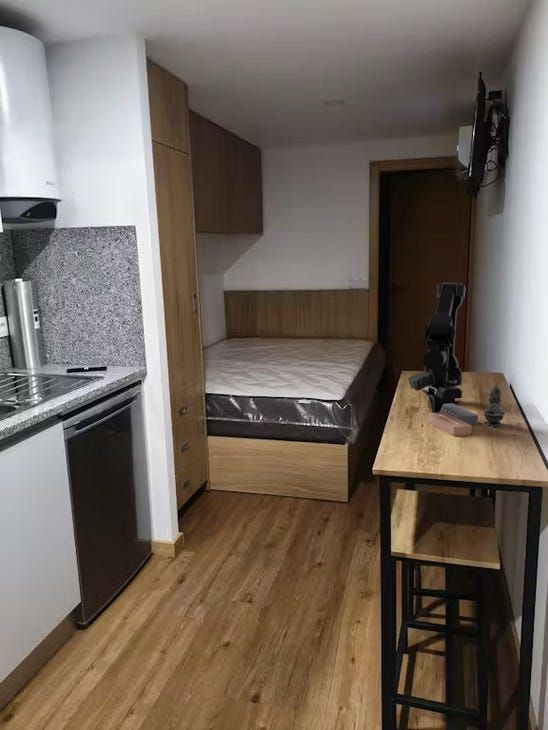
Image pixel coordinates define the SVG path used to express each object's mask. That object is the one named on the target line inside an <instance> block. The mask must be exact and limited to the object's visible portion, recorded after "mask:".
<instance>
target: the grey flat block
mask: <svg viewBox="0 0 548 730" xmlns="http://www.w3.org/2000/svg"><path fill="white" fill-rule="evenodd" d="M440 412H446V413H448V414H450V415H452V416H454V417H456V418H458V419H460V420H462V421H464V422H466V423H468V424H470V425H477V424H478V421H479V420H478V419H479V415H478V414H476V413H473V412H472V411H469V410H467V409H465V408H463V407H461V406H460V405H457V404H456V403H449V404H443V406H442V408H441V410H440V411H439V413H440Z"/></svg>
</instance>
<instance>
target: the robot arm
mask: <svg viewBox="0 0 548 730" xmlns="http://www.w3.org/2000/svg"><path fill="white" fill-rule="evenodd" d="M466 289H467V288H466V286H465V285H463V282H442V283H440V284H437V285H436V297H437V298H438V301H437V306H436V311H435V314H433V315H432V316H431V317H430V318H429V321H428V324H426V326H425V330H424V331H425V332H424V339H423V346H425V347H427V346H428V350H427V351H425V353H424V354H423V357H422V363H423V365H424V367H423V371H422V372H417V374H416V373H415V374H413V375H411V376H410V377H408V378H407V380H408V383H409V386H410V389H413V390H414V391H421V392H422V393H424V394H425V395H426V396H427V397H428V401H429V405H430V410H431V413H439V411H440V410H441V408H442V406H443V404H451V403H453V404H459V400H456V399H462V398H463V391H462V389H461V388H459V386H462V381H463V379H462V377H463V372H462V371H461V369H460V367H459V361H458V359H457V357H456V356H455V355H456V354H455V348H456V347H455V346H456V345H455V344H456V334H457V333H456V331H457V330H456V329H457V317H458V315H457V314H458V309H459V308H460V307H461V305H462V303H463V300H464V298H465V297H466Z"/></svg>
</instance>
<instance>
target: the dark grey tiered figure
mask: <svg viewBox="0 0 548 730" xmlns="http://www.w3.org/2000/svg"><path fill="white" fill-rule="evenodd" d="M501 393H502V390H501V389H500V388H499V387H498V385H497V384H495V385H494V387H492V388H491V389H490V393H489V394H490V395H489V398H488V401H489V402H488V408H487V409H485V410H483V416H484V419H485V420H486V421H484V422H483V425H484V426H486V427H490V426H493V427H492V428H501V426H502V427H503V426H504V424H503V423H501V421H502V420H503V419H504V416H505V415H506V413H505V412H504V411H502V410H501V402H502V399H501V395H502V394H501Z"/></svg>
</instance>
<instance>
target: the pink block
mask: <svg viewBox="0 0 548 730" xmlns="http://www.w3.org/2000/svg"><path fill="white" fill-rule="evenodd" d="M427 422H428V423H430V424H432V425H433V426H435V427H437V428H439V430H441V431H444V432H445V433H448V434H449V435H451V436H452V437H457V436H468V435H472V433H473V432H472V430H473V424H468V423H466V422H464V421H462V420H460V419H458V418H456V417H454V416H452V415H450V414H448V413H446V412H440V413H432V412H429V413H428V414H427Z"/></svg>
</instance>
